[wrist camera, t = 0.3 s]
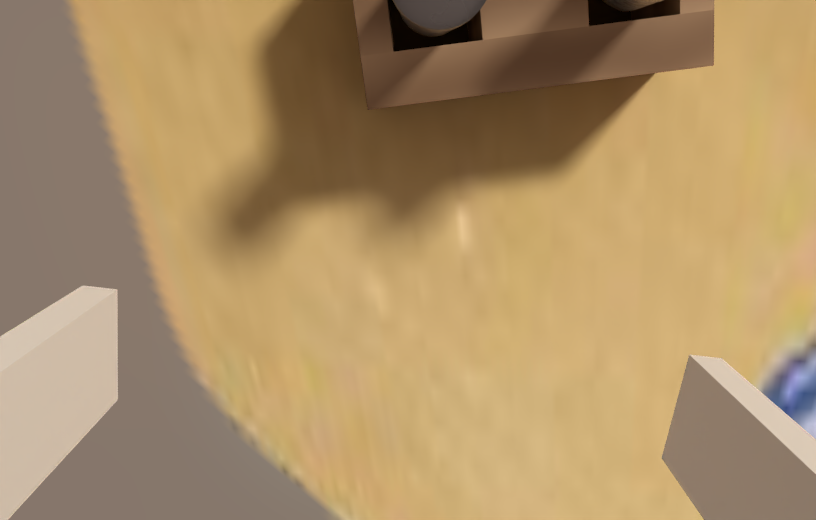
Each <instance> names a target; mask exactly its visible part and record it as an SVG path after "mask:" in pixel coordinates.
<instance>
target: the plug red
mask: <svg viewBox="0 0 816 520" xmlns="http://www.w3.org/2000/svg"><path fill="white" fill-rule="evenodd" d="M603 1H604V2H605V3H606V4H607V5H608V6H610V7H612V8H614V9H616V10H620V11H632V10H637V9H639V8H642V7H645V6H648V5H651V4H654V3H657V2H660V1H663V0H603Z"/></svg>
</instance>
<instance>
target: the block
mask: <svg viewBox="0 0 816 520" xmlns="http://www.w3.org/2000/svg"><path fill="white" fill-rule="evenodd" d="M353 5H354V13H355V20H356V27H357V34H358V42H359V49H360V56H361V63H362V71H363V78H364V85H365V92H366V100H367V107H368V110H370V109H378V108H386V107H394V106H401V105H409V104H417V103H425V102H433V101H440V100H448V99H456V98H464V97H472V96H479V95H487V94H495V93H503V92H510V91H518V90H526V89H534V88H542V87H549V86H557V85H565V84H573V83H581V82H588V81H596V80H604V79H612V78H620V77H627V76H635V75H643V74H651V73H658V72H666V71H674V70H682V69H690V68H697V67H705V66H713V65H714V0H663V1H660V2H657V3H654V4H651V5H648V6H645V7H642V8H639V9H637V10H632V11H631V21H624V22H616V23H609V24H601V25H594V26H589V15H588V0H486V2H485V3H484V5H483V6H482V8H481V9H480V10H479V11H478V13H477V14H476V15H475V16H474V17H473V18H472V19H470V20H469V21H468V22H467V29H468V40H469V42H464V43H456V44H449V45H441V46H433V47H426V48H418V49H410V50H403V51H395V49H394V41H393V33H392V25H391V17H390V9H389V1H388V0H353Z"/></svg>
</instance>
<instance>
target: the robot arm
mask: <svg viewBox="0 0 816 520" xmlns="http://www.w3.org/2000/svg"><path fill="white" fill-rule="evenodd" d="M117 330H118V327H117V289H108V288H100V287H91V286H81V287H80V288H78V289H76V290H75V291H73V292H72V293H70V294H68V295H67V296H65V297H63V298H62V299H60V300H59V301H57V302H56V303H54V304H52V305H51V306H49V307H47V308H46V309H44V310H43V311H41V312H39V313H38V314H36V315H34V316H33V317H32V318H30V319H28V320H26V321H25V322H23V323H21V324H20V325H18V326H17V327H15V328H13V329H12V330H10V331H9V332H7V333H5V334H4V335H2V336H0V520H8V519H9V518H10V517H11V516H12V515H13V513H14V512H15V511H16V510H17V509H18V508H19V507H20V506H21V505H22V503H24V502H25V500H26V499H27V498H28V497H29V496H30V495H31V494H32V493H33V492H34V491H35V490H36V488H37V487H38V486H39V485H40V484H41V483H42V482H43V481H44V479H46V478H47V476H48V475H49V474H50V473H51V472H52V471H53V470H54V469H55V468H56V467H57V465H58V464H59V463H60V462H61V461H62V460H63V459H64V458H65V457H66V456H67V454H69V452H70V451H71V450H72V449H73V448H74V447H75V446H76V444H78V443H79V441H80V440H81V439H82V438H83V437H84V436H85V435H86V434H87V433H88V431H89V430H91V428H92V427H93V426H94V425H95V424H96V423H97V422H98V421H99V420H100V418H101V417H102V416H103V415H104V414H105V413H106V412H107V411H108V410H109V409H110V408H111V407H112V405H113V404H114V403H115V402H116V401H117V400H118V344H117V343H118V341H117V340H118V334H117V333H118V332H117ZM662 459H663V461H664V462H665V464H666V465H667V466H668V468H669V469H670V471H671V472H672V474H673V475H674V477H675V478H676V480H677V481H678V482H679V484H680V485H681V487H682V488H683V490H684V491H685V493H686V494H687V496H688V497H689V498H690V500H691V501H692V503H693V504H694V506H695V507H696V509H697V510H698V512H699V513H700V514H701V516H702V517H703V519H704V520H816V439H815V438H813V437H812V436H811V435H810V434H809V433H808V432H806V431H805V430H804V429H803V428H802V427H801V426H800V425H798V424H797V423H796V422H795V421H794V420H793V419H791V418H790V417H789V416H788V415H787V414H786V413H784V412H783V411H782V410H781V409H780V408H779V407H777V406H776V405H775V404H774V403H773V402H772V401H771V400H769V399H768V398H767V397H766V396H765V395H764V394H762V393H761V392H760V391H759V390H758V389H757V388H755V387H754V386H753V385H752V384H751V383H750V382H748V381H747V380H746V379H745V378H744V377H743V376H742V375H740V374H739V373H738V372H737V371H736V370H735V369H733V368H732V367H731V366H730V365H729V364H728V363H726V362H725V361H724V360H723V359H722V358H715V357H706V356H697V355H689V358H688V362H687V365H686V369H685V373H684V377H683V380H682V384H681V388H680V392H679V395H678V399H677V403H676V407H675V410H674V414H673V418H672V421H671V425H670V429H669V433H668V436H667V440H666V444H665V448H664V451H663V455H662Z"/></svg>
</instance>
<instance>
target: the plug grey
mask: <svg viewBox="0 0 816 520" xmlns="http://www.w3.org/2000/svg"><path fill="white" fill-rule="evenodd" d="M393 2H394V4H395V6H396V7H397V9H398V11H399V12H400V15H401V17H402V19H403V21H404V22H405V23H406V25H407V26H408V27H409V28H410V29H412V30H413V31H414V32H416V33H418V34H421V35H424V36H430V37H435V36H441V35H444V34H446V33H448V32H450V31H451V30H453V29H455V28H458V27H460V26H462V25H464V24H465V23H467V22H468V21H469V20H470V19H472V18H473V17H474V16H475V15H476V14H477V13H478V11H479V10H480V9H481V8H482V6H483V5H484V3H485V2H486V0H393Z"/></svg>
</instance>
